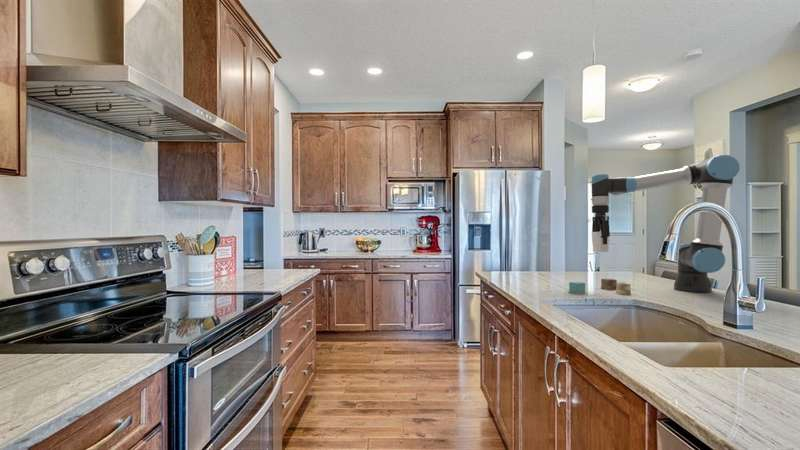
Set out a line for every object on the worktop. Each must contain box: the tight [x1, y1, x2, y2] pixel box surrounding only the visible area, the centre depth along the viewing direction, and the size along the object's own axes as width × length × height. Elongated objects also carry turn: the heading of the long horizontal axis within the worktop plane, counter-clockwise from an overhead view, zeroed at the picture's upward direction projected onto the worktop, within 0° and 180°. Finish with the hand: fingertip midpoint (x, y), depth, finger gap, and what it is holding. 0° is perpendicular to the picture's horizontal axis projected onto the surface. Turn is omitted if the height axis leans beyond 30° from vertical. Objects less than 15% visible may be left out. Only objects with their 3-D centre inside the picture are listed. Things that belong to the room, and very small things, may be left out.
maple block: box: [616, 281, 632, 295], centre depth 182 cm, size 5×5×5 cm
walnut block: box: [600, 278, 618, 291], centre depth 195 cm, size 5×5×5 cm
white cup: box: [591, 231, 610, 253], centre depth 190 cm, size 8×8×10 cm
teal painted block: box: [568, 281, 586, 294], centre depth 185 cm, size 5×5×5 cm
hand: (600, 250), depth 190 cm, fingers closed on white cup, 7 cm apart
